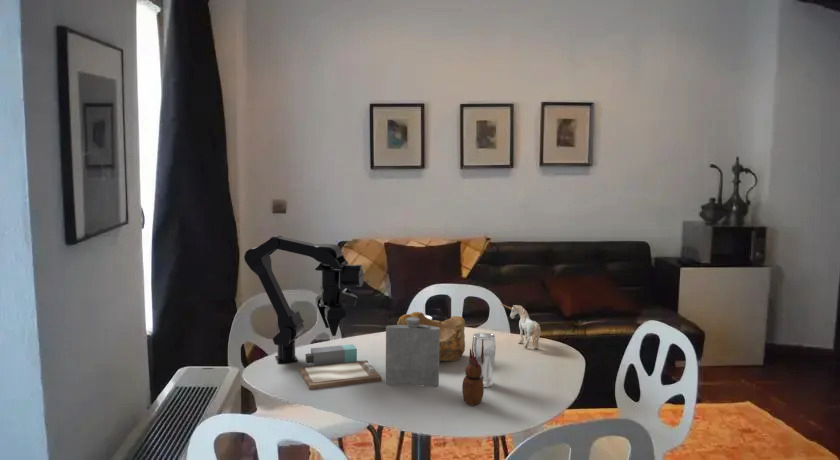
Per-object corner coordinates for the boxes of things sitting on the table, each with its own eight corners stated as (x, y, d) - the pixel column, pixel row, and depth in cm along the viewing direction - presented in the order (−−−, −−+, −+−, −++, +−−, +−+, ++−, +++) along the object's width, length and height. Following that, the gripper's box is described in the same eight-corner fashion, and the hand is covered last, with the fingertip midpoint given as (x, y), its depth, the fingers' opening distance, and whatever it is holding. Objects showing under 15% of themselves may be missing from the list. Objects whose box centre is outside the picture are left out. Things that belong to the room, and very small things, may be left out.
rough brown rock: (393, 370, 212) (395, 326, 209) (396, 349, 228) (398, 308, 225) (465, 374, 212) (468, 330, 208) (463, 353, 228) (466, 312, 224)
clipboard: (299, 371, 207) (299, 364, 207) (366, 363, 215) (367, 357, 215) (309, 389, 192) (309, 382, 192) (381, 380, 200) (381, 373, 200)
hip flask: (384, 385, 197) (385, 319, 194) (386, 380, 201) (387, 316, 198) (438, 387, 196) (439, 321, 193) (438, 382, 200) (440, 317, 197)
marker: (304, 363, 214) (304, 348, 214) (352, 358, 220) (352, 344, 219) (307, 368, 210) (307, 353, 209) (356, 363, 215) (356, 348, 215)
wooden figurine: (460, 398, 188) (461, 347, 186) (480, 397, 188) (482, 346, 186) (464, 407, 181) (465, 354, 179) (484, 407, 181) (486, 354, 179)
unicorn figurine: (514, 336, 248) (515, 301, 246) (551, 350, 232) (553, 313, 230) (499, 339, 244) (500, 303, 242) (536, 353, 228) (537, 316, 226)
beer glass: (493, 389, 195) (494, 339, 193) (469, 387, 196) (471, 338, 194) (495, 380, 201) (496, 333, 199) (472, 378, 203) (473, 331, 201)
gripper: (363, 289, 205) (362, 338, 207) (348, 277, 223) (347, 322, 225) (327, 291, 201) (327, 341, 204) (315, 278, 219) (315, 324, 221)
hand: (330, 331), depth 213 cm, fingers open, 9 cm apart
